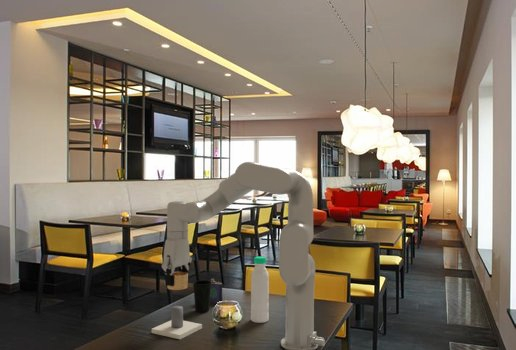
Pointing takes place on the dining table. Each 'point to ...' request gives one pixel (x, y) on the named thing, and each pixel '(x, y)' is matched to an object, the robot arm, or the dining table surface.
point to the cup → (202, 295)
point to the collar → (179, 281)
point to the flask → (215, 292)
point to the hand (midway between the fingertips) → (177, 282)
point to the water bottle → (259, 291)
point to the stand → (177, 325)
